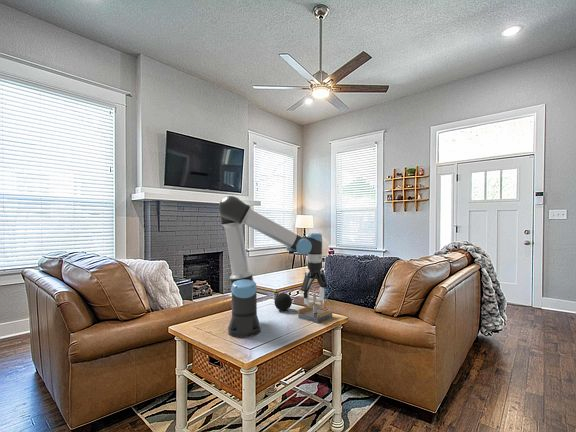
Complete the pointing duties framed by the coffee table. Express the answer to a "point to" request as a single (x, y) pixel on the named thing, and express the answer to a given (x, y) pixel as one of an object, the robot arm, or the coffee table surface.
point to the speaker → (283, 301)
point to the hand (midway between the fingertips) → (314, 301)
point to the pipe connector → (315, 303)
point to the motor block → (314, 314)
